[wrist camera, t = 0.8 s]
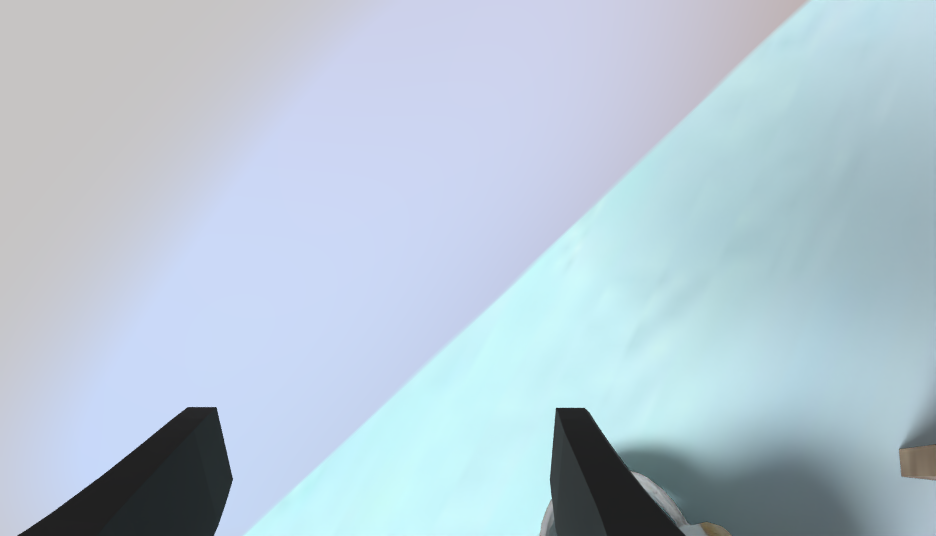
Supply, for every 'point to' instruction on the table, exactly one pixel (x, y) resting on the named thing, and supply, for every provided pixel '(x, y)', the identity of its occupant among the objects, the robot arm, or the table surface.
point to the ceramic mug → (703, 532)
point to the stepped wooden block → (918, 462)
